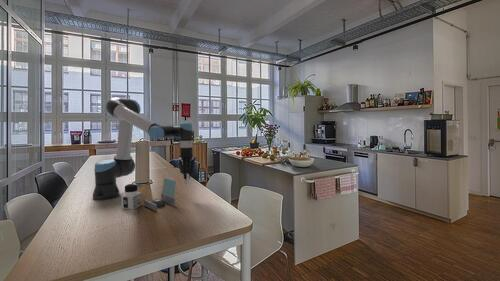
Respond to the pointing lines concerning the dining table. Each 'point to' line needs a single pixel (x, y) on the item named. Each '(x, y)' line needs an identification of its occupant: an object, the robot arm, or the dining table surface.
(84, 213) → the dining table surface
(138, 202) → the container
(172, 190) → the lid
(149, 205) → the dark grey shallow box
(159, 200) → the dark grey rounded disc
